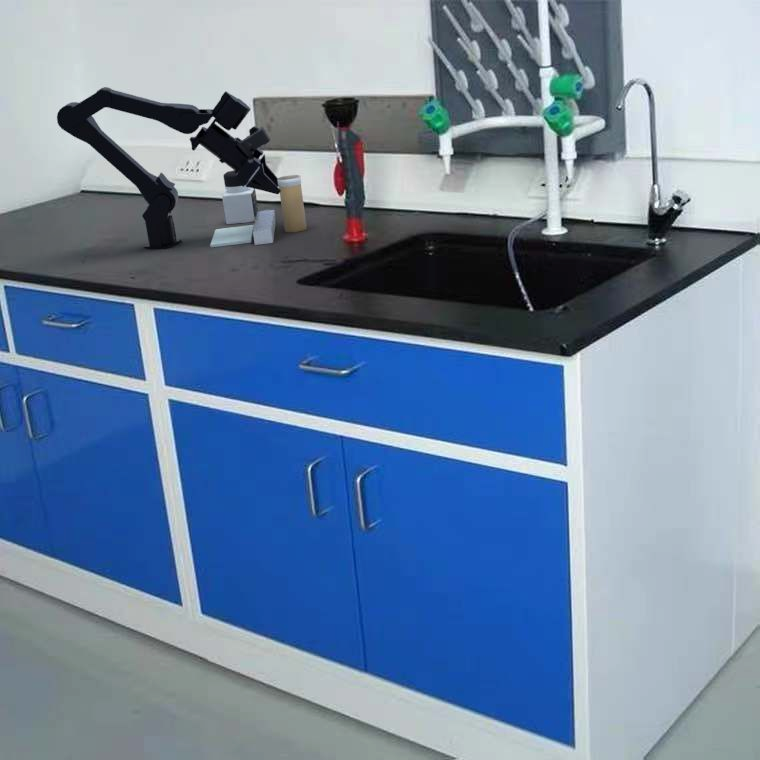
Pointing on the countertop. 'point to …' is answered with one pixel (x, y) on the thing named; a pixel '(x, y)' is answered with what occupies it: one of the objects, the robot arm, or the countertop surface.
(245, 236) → the pad
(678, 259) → the countertop surface
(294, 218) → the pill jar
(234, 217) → the medicine bottle
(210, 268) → the countertop surface
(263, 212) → the grey rectangular bar
